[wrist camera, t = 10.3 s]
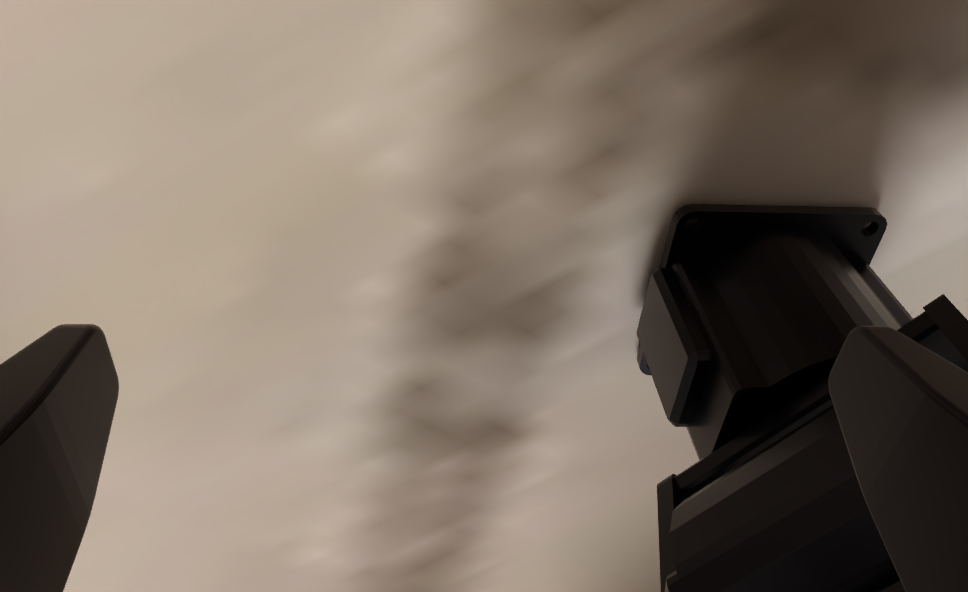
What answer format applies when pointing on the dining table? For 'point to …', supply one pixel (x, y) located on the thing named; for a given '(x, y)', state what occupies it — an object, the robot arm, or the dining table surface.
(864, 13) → the dining table surface
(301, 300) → the dining table surface
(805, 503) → the robot arm
